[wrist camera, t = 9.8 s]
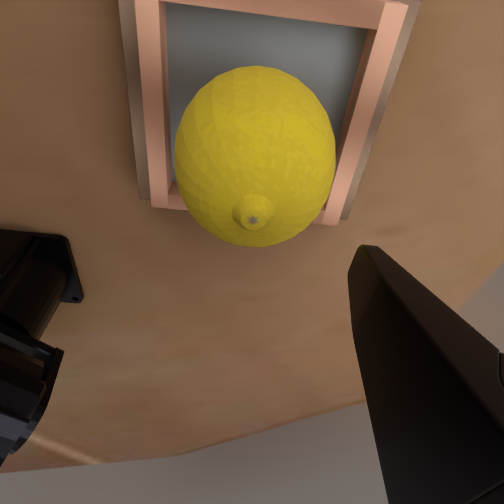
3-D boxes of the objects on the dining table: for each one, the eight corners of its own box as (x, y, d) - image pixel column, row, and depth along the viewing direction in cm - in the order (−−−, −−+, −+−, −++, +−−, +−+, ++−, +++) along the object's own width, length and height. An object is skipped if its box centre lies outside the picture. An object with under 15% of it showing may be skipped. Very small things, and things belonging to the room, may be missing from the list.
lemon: (342, 73, 15) (402, 163, 8) (289, 186, 18) (304, 309, 12) (210, 20, 14) (170, 80, 7) (180, 151, 17) (135, 267, 11)
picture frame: (340, 201, 23) (356, 249, 19) (147, 181, 22) (125, 227, 18) (418, -45, 15) (469, -42, 11) (124, -88, 14) (78, -101, 11)
